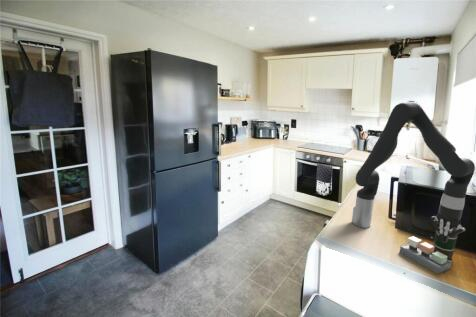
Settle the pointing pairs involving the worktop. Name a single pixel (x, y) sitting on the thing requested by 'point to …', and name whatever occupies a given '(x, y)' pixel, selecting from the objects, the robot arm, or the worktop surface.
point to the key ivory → (414, 241)
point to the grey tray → (424, 258)
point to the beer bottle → (445, 244)
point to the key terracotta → (426, 248)
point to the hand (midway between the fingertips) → (442, 241)
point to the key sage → (439, 257)
